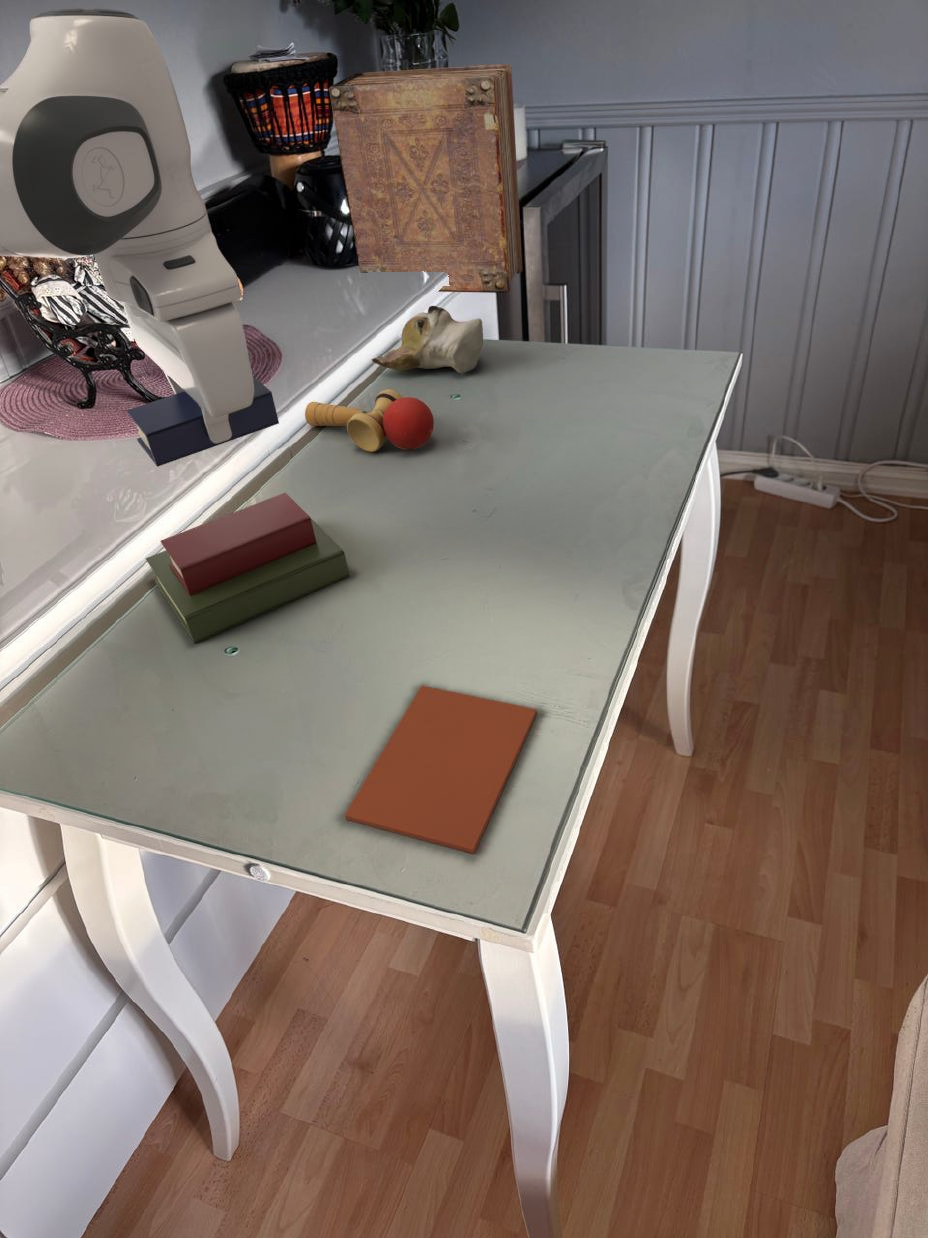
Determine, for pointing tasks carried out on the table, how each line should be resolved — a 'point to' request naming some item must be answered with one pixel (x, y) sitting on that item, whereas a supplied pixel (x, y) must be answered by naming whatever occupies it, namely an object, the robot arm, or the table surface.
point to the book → (432, 173)
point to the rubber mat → (443, 768)
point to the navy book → (195, 424)
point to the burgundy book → (239, 542)
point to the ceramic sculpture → (436, 343)
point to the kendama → (379, 421)
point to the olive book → (251, 587)
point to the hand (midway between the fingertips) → (206, 425)
